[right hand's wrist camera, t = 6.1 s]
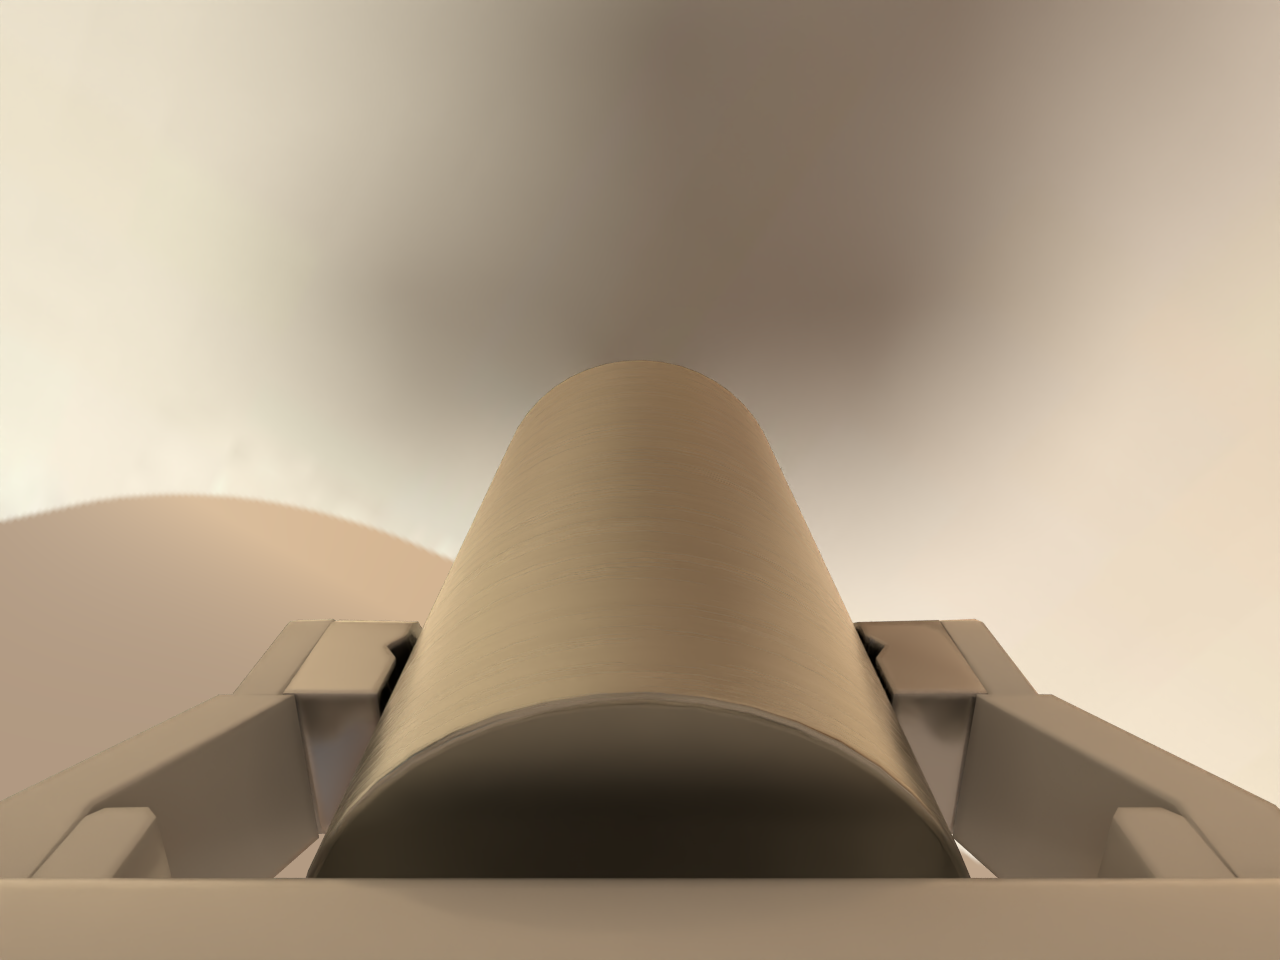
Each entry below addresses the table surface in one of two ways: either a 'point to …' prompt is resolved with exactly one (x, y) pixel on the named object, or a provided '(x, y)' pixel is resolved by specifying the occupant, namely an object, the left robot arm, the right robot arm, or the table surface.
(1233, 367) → the table surface
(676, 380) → the canister
